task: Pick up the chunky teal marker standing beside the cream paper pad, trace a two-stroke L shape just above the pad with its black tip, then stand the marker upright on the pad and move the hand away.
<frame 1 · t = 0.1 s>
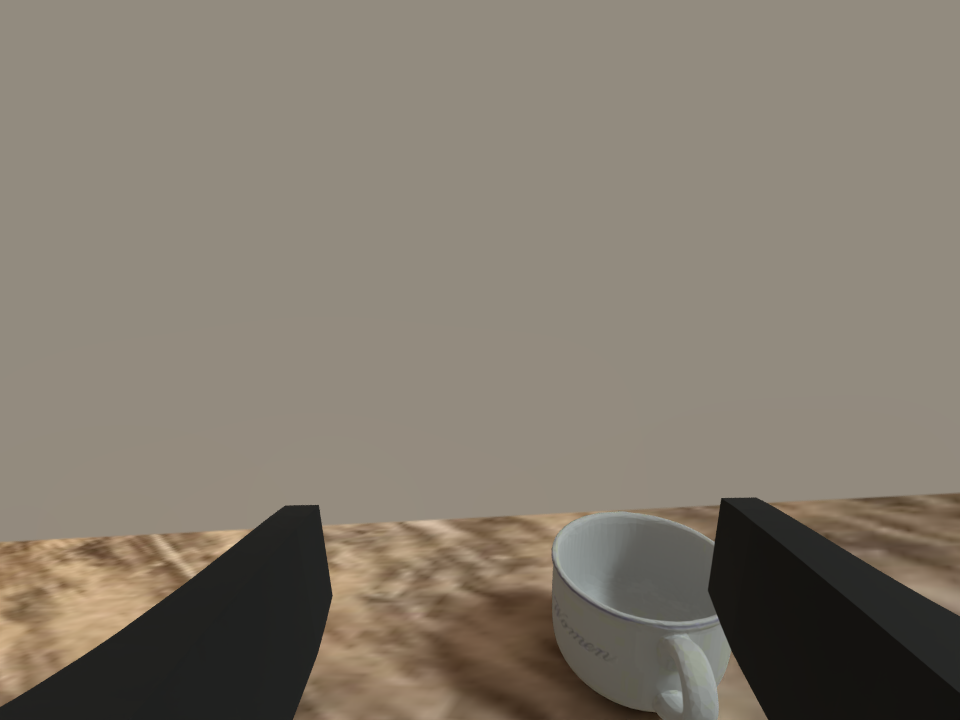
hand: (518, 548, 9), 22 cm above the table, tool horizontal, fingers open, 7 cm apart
teacup: (641, 687, 31), on the table
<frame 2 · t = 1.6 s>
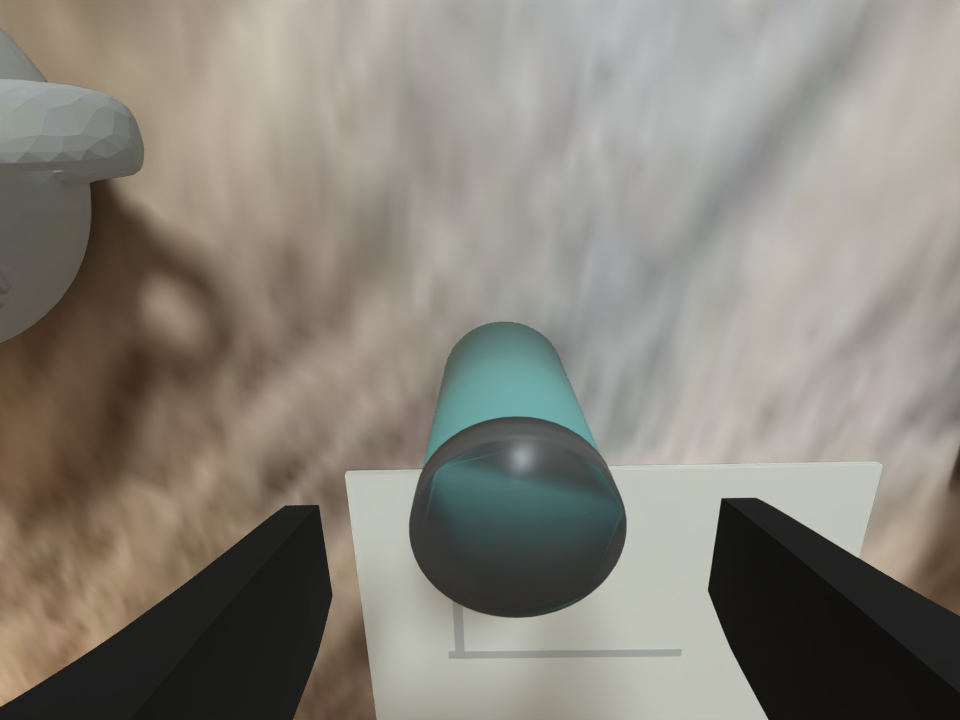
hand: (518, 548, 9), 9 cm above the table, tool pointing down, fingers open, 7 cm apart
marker: (502, 369, 18), on the table
paper pad: (600, 610, 22), on the table
teacup: (31, 171, 16), on the table
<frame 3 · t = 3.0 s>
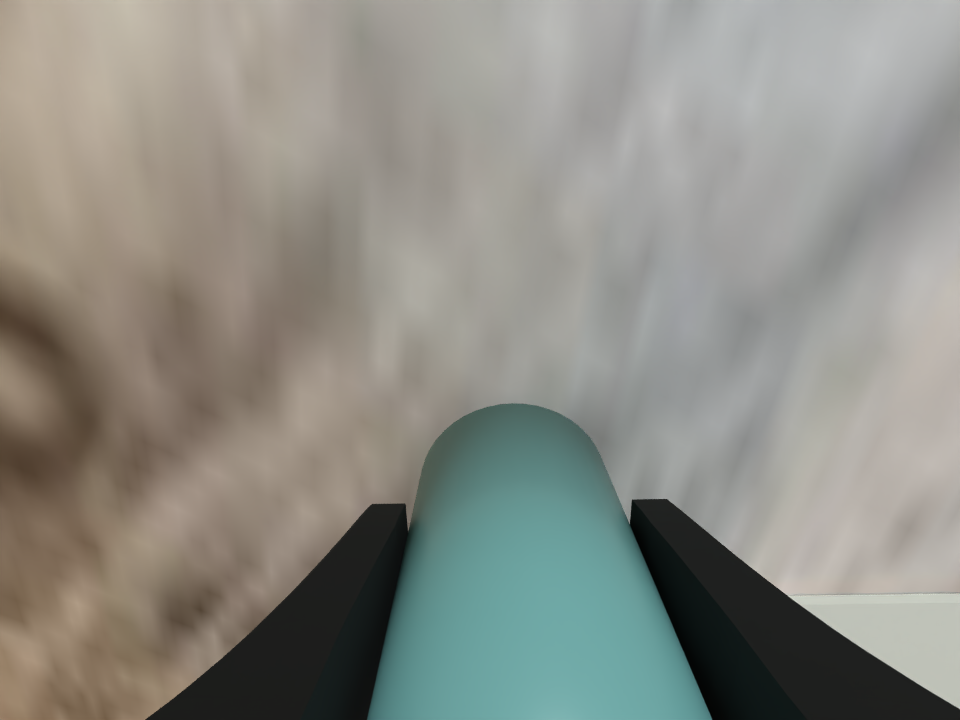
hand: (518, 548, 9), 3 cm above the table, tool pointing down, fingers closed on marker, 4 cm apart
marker: (510, 464, 12), on the table, touching gripper
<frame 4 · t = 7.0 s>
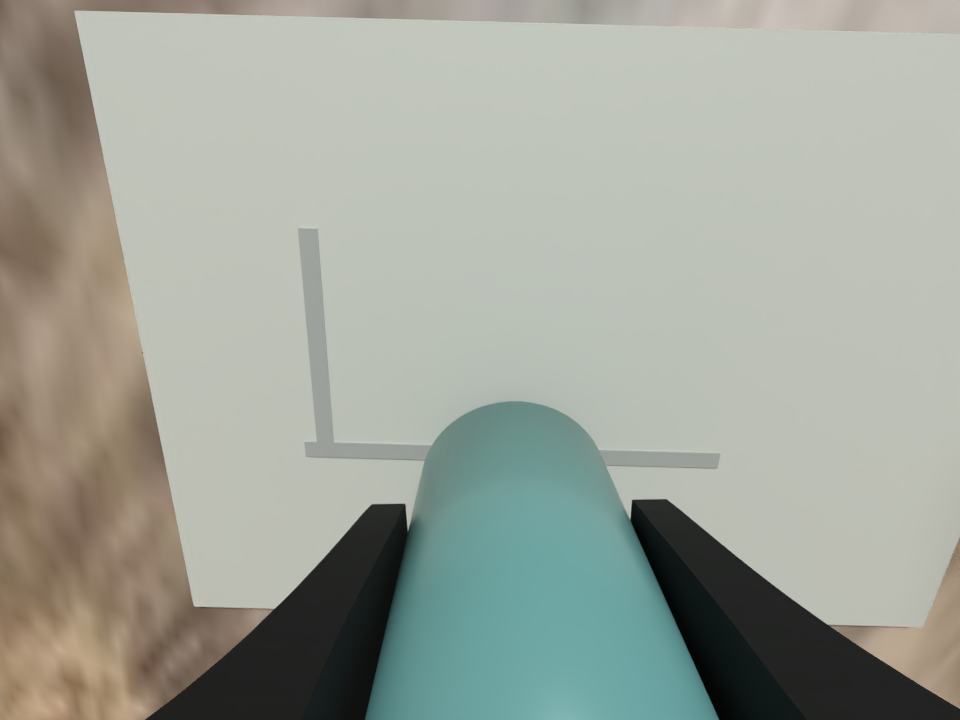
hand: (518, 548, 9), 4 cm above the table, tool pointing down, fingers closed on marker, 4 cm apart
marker: (511, 463, 12), point 1 cm above the table, touching gripper
paper pad: (579, 374, 12), on the table
when the fingers open (4 cm above the table, at t = 11.3 s): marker stays where it is, resting on paper pad.
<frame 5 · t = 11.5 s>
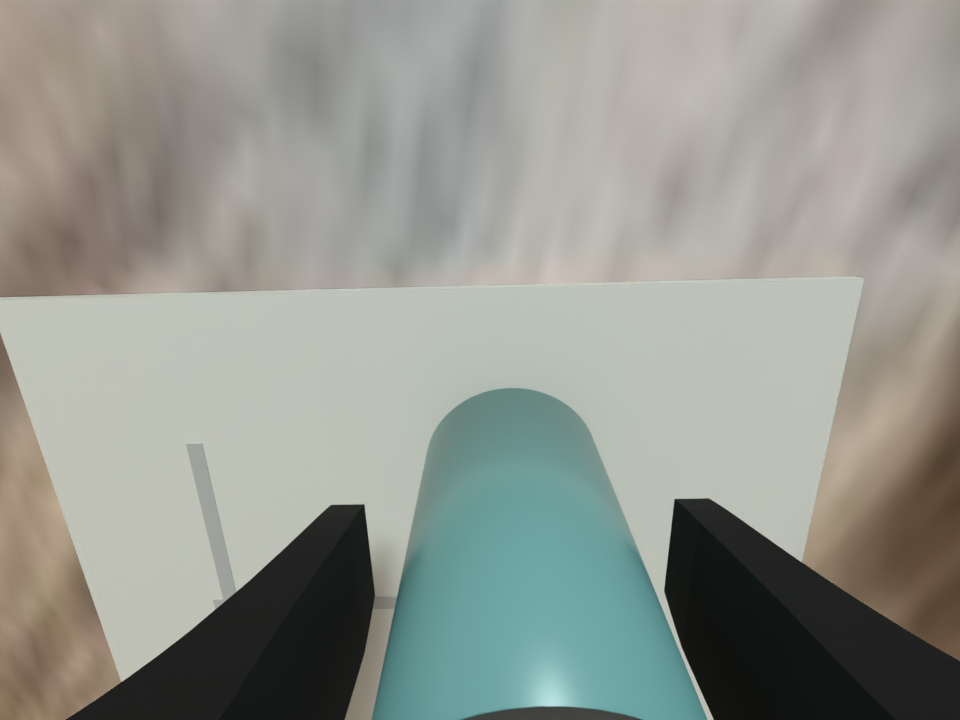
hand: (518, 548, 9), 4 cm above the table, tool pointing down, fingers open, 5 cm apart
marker: (509, 445, 13), resting on paper pad
paper pad: (437, 536, 14), on the table
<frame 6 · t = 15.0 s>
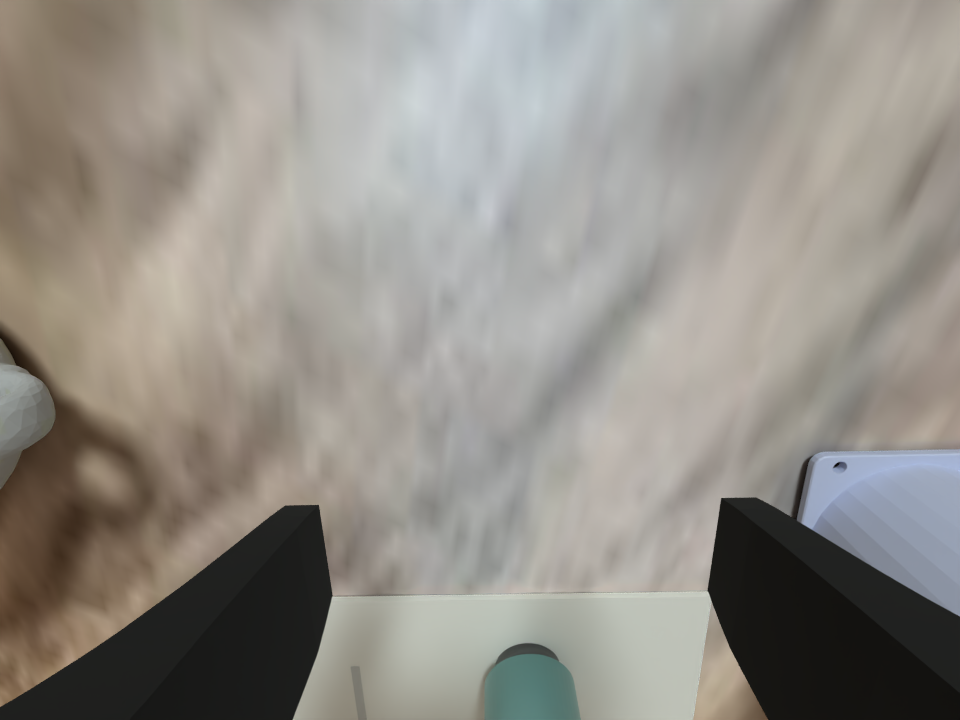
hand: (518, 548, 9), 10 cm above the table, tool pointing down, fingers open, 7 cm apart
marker: (527, 667, 24), resting on paper pad
paper pad: (485, 708, 25), on the table
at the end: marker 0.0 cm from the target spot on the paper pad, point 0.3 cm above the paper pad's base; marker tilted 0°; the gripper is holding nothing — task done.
